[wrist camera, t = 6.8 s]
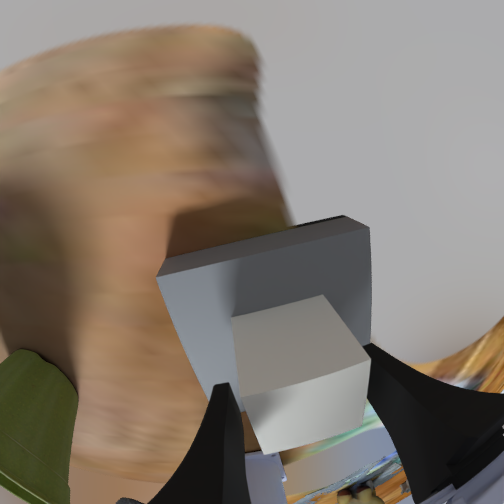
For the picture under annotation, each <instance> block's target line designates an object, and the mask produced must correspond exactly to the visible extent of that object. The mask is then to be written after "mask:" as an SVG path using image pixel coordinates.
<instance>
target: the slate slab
mask: <svg viewBox="0 0 504 504" xmlns="http://www.w3.org/2000/svg"><path fill="white" fill-rule="evenodd" d="M295 227H296V228H294V229H289V230H285V231H280V232H276V233H272V234H267V235H263V236H259V237H254V238H250V239H246V240H241V241H237V242H233V243H229V244H224V245H220V246H216V247H212V248H207V249H203V250H199V251H195V252H191V253H187V254H182V255H178V256H174V257H170V258H166V259H165V260H164V262H163V264H162V266H161V268H160V270H159V272H158V274H157V276H156V279H157V282H158V285H159V288H160V291H161V293H162V296H163V299H164V301H165V304H166V306H167V309H168V312H169V314H170V317H171V319H172V322H173V324H174V326H175V329H176V331H177V334H178V336H179V338H180V341H181V343H182V345H183V348H184V350H185V352H186V354H187V357H188V359H189V361H190V363H191V365H192V368H193V370H194V372H195V374H196V376H197V378H198V380H199V382H200V384H201V386H202V388H203V390H204V392H205V394H206V396H207V398H208V400H210V397H211V393H212V389H213V386H214V385H215V384H221V383H226V382H229V383H230V386H231V389H232V391H233V394H234V396H235V399H236V401H237V404H238V406H239V409H240V412H243V411H246V410H245V408H244V405H243V403H242V400H241V397H240V390H239V382H238V374H237V366H236V358H235V349H234V340H233V332H232V323H231V317H235V316H240V315H244V314H248V313H253V312H257V311H261V310H265V309H269V308H273V307H277V306H281V305H285V304H289V303H293V302H297V301H300V300H304V299H308V298H312V297H315V296H319V295H322V294H323V295H324V297H325V298H326V299H327V300H328V302H329V303H330V304H331V306H332V307H333V308H334V310H335V311H336V312H337V314H338V315H339V316H340V318H341V319H342V320H343V322H344V323H345V324H346V326H347V327H348V328H349V330H350V331H351V332H352V334H353V335H354V336H355V338H356V339H357V341H358V342H359V343H360V345H361V346H364V345H367V344H369V343H370V334H371V304H372V287H371V286H372V284H371V283H372V282H371V281H372V279H371V278H372V277H371V248H370V230H369V227H368V226H365V225H364V224H362V223H360V222H357V221H355V220H353V219H351V218H349V217H347V216H345V215H340V216H335V217H330V218H326V219H321V220H316V221H312V222H307V223H303V224H298V225H295Z"/></svg>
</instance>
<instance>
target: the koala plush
mask: <svg viewBox="0 0 504 504" xmlns="http://www.w3.org/2000/svg"><path fill="white" fill-rule="evenodd" d="M116 504H144V503H141V502H139V501H136V500H134V499H130V498H120V500H118V501H117V502H116Z"/></svg>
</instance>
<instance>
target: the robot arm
mask: <svg viewBox="0 0 504 504" xmlns="http://www.w3.org/2000/svg"><path fill="white" fill-rule="evenodd" d="M362 347H363V349H364V350H365V351H366V353H367V354H368V356H369V357H370V358H371V365H370V374H369V382H368V390H367V399H368V401H369V402H370V404H371V405H372V407H373V409H374V410H375V412H376V413H377V415H378V416H379V418H380V420H381V421H382V423H383V424H384V426H385V428H386V429H387V431H388V432H389V435H390V437H391V439H392V441H393V443H394V446H395V448H396V450H397V453H398V455H399V457H400V460H401V462H402V465H403V468H404V471H405V474H406V477H407V479H408V483H409V486H410V490H411V493H412V497H413V500H414V503H415V504H443V503H445V502H446V501H447V503H446V504H502V503H503V502H504V436H503V434H504V429H503V428H502V426H503V425H504V394H503V393H486V392H479V391H473V390H468V389H464V388H460V387H456V386H453V385H450V384H447V383H444V382H441V381H439V380H436V379H434V378H431V377H429V376H427V375H425V374H423V373H421V372H419V371H417V370H415V369H413V368H411V367H410V366H408V365H406V364H404V363H403V362H401V361H399V360H398V359H396V358H394V357H393V356H391V355H390V354H388V353H387V352H385V351H384V350H382V349H380V348H379V347H377V346H376V345H374V344H373V343H369V344H367V345H364V346H362ZM286 480H287V477H286V474H285V471H284V468H283V465H282V462H281V459H280V455H279V452H275V453H271V454H266V455H264V454H263V451H257V452H252V453H246V454H245V449H244V432H243V424H242V419H241V413H240V409H239V406H238V404H237V401H236V399H235V396H234V394H233V391H232V389H231V386H230V383H229V382H226V383H221V384H215V385H214V386H213V389H212V393H211V397H210V400H209V404H208V407H207V410H206V413H205V415H204V418H203V420H202V423H201V426H200V428H199V430H198V432H197V435H196V437H195V439H194V441H193V443H192V445H191V447H190V449H189V451H188V452H187V454H186V456H185V458H184V459H183V461H182V462H181V464H180V465H179V467H178V468H177V470H176V471H175V473H174V474H173V476H172V477H171V478H170V479H169V481H168V482H167V483H166V484H165V486H164V487H163V488H162V489H161V490H160V491H159V492H158V494H157V495H156V496H155V497H154V498H153V499H152V500H151V501H150V502H149V503H147V504H287V500H286V496H285V492H284V487H283V483H282V482H283V481H286Z"/></svg>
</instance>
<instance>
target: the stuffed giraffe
mask: <svg viewBox="0 0 504 504" xmlns="http://www.w3.org/2000/svg"><path fill="white" fill-rule="evenodd" d="M384 458H386V456H385V457H383V458H382V459H381V460H383V459H384ZM381 460H379V461H377V462H375V463H370V464H368V465H366V466H364V467H363V468H361V469H359V470H358V471H355V472H354V473H353V474H351V475H349V476H348V477H347V478H346V479H343V480H341V481H339V482H337V483H334V484H335V485H334V484H331V485H332V486H331V485H329V488H327V489H325V488H323V489H322V490H319V491H316V492H314V493H312V494H309V495H306V496H305V498H302V499H300V500H299V501H297V502H296V503H294V504H307V503H305V502H308V503H309V502H311V501H309V500H310V499H312V498H314V497H313V496H315V495H316V494H318V493H321V492H324V493H325V491H326V492H327V493H329V491H328V490H330V493H331V492H332V491H335V490H336V489H337V490H338V489H339V488H340V487H342V486H343V485H344V484H345V483H346V482H345V481H347V480H348V479H351V478H352V479H351V480H350V481H352V480H353V482H355V481H357V480H358V481H359V482H358V481H357V482H358V483H357V484H355V485H353V486H352V487H351V488H347V489H344V490H341V491H339V492H338V494H337V501H338V503H337V504H384V501H383V500H382V499H381V498H379V497H378V496H375V495H376V492H375V487H377V486H378V485H381V484H383V483H384V482H386V481H387V480H389V479H391V478H392V477H393V476H395V475H396V474H398V473H399V472H401V471H402V470H404V468H403V469H401V470H400V471H399V472H397V473H395V474H394V473H393V472H394V471H396V470H397V469H399V468H400V467H401V466H400V465H399V464H396V463H394V464H392V463H393V462H392V461H390V462H392V463H391V464H392V466H390V465H391V464H390V463H388V464H387V465H385V466H383V467H381V468H380V469H378V470H377V471H375V472H373V473H372V474H371V473H370V474H369V475H367V473H369V471H370V470H371V469H372V468H373V467H374V466H375V465H376V464H378V463H379V462H380V461H381ZM394 465H395V466H394ZM388 466H389V467H388ZM393 466H394V467H393ZM391 467H392V468H391ZM366 469H368V470H366ZM365 470H366V471H365ZM386 470H387V471H386ZM363 471H365V472H364V473H362V472H363ZM381 471H382V472H381ZM380 472H381V473H383V472H385V473H384V474H382V475H380V477H379V478H377V479H375V480H373V481H372V480H369V479H371V478H372V477H374V476H375V475H378V473H379V474H380ZM361 473H362V474H361ZM391 473H393V474H392V475H391ZM359 474H361V475H360V476H358V477H357V478H356V477H355V476H357V475H359ZM389 474H390V475H389ZM365 475H366V476H365ZM353 477H355V478H356V479H355V478H353ZM353 482H351V483H349V484H348V485H350V484H352V483H353ZM343 483H344V484H343ZM333 488H334V489H333ZM332 489H333V490H332ZM314 494H315V495H314ZM321 494H322V493H321ZM319 496H320V495H319ZM319 499H320V498H319ZM319 499H318V500H319ZM314 503H315V502H313V501H312V502H311V504H314ZM316 503H317V502H316Z"/></svg>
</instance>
